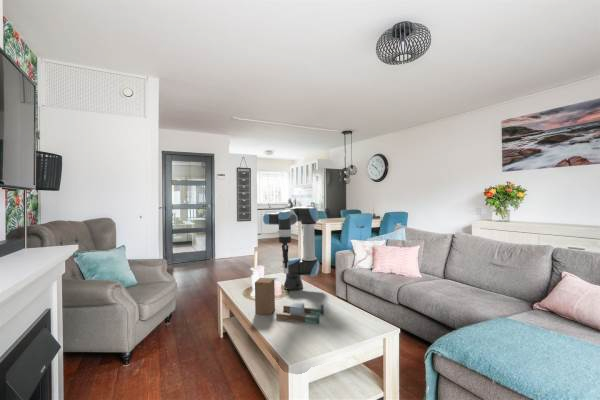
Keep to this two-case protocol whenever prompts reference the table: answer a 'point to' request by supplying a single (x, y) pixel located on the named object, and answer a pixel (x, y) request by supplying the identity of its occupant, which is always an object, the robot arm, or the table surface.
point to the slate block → (297, 309)
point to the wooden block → (264, 296)
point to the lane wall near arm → (308, 310)
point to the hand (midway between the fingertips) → (285, 270)
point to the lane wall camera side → (298, 318)
